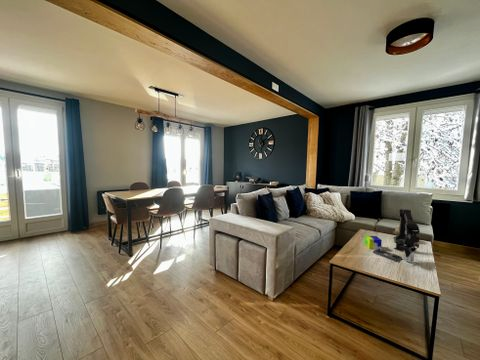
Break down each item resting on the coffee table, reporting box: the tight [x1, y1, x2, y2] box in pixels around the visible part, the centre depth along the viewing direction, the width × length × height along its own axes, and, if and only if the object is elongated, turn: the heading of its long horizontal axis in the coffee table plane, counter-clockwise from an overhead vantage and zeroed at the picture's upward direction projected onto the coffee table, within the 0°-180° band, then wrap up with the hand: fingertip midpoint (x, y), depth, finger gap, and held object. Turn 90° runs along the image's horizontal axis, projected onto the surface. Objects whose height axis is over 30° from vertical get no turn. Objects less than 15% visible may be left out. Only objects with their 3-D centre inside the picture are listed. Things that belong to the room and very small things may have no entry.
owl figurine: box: [392, 225, 406, 240], centre depth 209 cm, size 18×12×17 cm, turn 42°
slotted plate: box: [372, 248, 403, 263], centre depth 173 cm, size 10×18×2 cm, turn 27°
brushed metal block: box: [402, 251, 415, 262], centre depth 161 cm, size 5×5×8 cm
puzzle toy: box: [364, 234, 383, 251], centre depth 190 cm, size 10×10×10 cm
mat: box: [399, 259, 417, 267], centre depth 162 cm, size 8×8×1 cm
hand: (408, 256), depth 162 cm, fingers closed on brushed metal block, 5 cm apart
